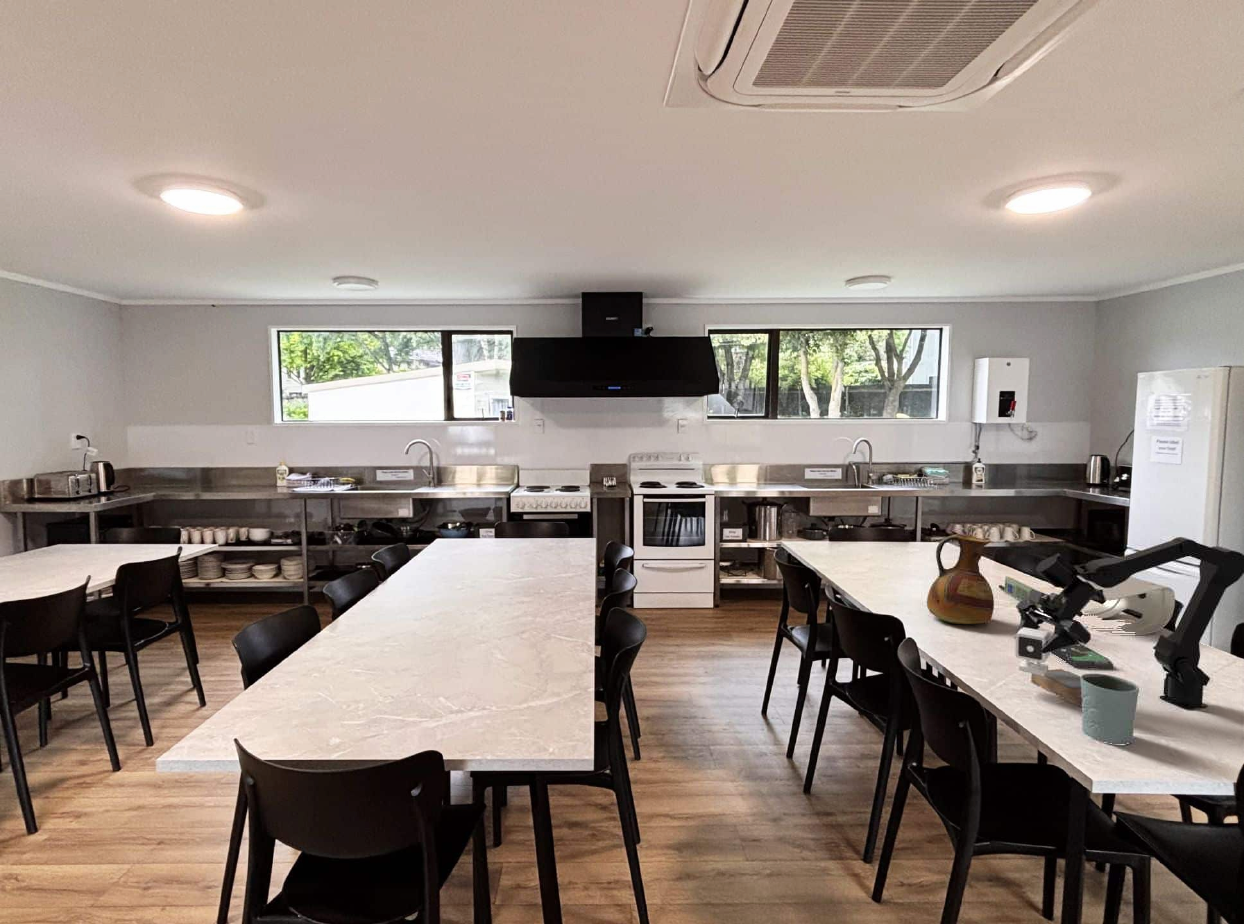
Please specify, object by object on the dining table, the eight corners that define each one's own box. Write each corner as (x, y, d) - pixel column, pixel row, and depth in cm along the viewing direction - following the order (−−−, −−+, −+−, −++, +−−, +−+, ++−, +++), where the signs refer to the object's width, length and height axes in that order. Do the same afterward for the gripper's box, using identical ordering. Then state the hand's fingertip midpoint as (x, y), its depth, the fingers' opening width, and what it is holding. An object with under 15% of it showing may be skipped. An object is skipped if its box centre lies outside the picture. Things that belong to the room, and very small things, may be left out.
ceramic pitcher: (999, 633, 203) (1002, 541, 201) (930, 626, 210) (933, 538, 208) (985, 615, 222) (988, 531, 220) (923, 610, 228) (925, 528, 226)
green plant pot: (1086, 742, 134) (1089, 687, 133) (1071, 721, 143) (1073, 669, 142) (1144, 750, 130) (1147, 694, 129) (1125, 728, 140) (1128, 676, 139)
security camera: (1014, 671, 157) (1015, 632, 156) (1021, 664, 162) (1021, 626, 161) (1044, 678, 152) (1045, 638, 152) (1050, 670, 158) (1051, 631, 157)
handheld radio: (1027, 607, 232) (995, 589, 257) (1037, 607, 232) (1003, 589, 256) (1029, 589, 232) (996, 573, 256) (1038, 590, 231) (1005, 573, 256)
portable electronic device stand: (1176, 635, 201) (1178, 587, 200) (1106, 637, 199) (1108, 589, 198) (1109, 611, 226) (1111, 569, 225) (1047, 612, 225) (1048, 570, 224)
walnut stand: (1110, 703, 152) (1111, 689, 152) (1078, 706, 151) (1079, 692, 150) (1060, 680, 166) (1061, 667, 166) (1031, 682, 164) (1031, 669, 164)
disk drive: (1043, 651, 189) (1075, 669, 174) (1043, 642, 188) (1075, 660, 174) (1079, 652, 188) (1114, 670, 173) (1079, 642, 188) (1114, 660, 173)
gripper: (1023, 570, 165) (983, 613, 165) (1081, 588, 147) (1035, 636, 146) (1050, 598, 166) (1010, 641, 166) (1111, 620, 148) (1066, 668, 148)
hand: (1028, 645), depth 157 cm, fingers closed on security camera, 8 cm apart
